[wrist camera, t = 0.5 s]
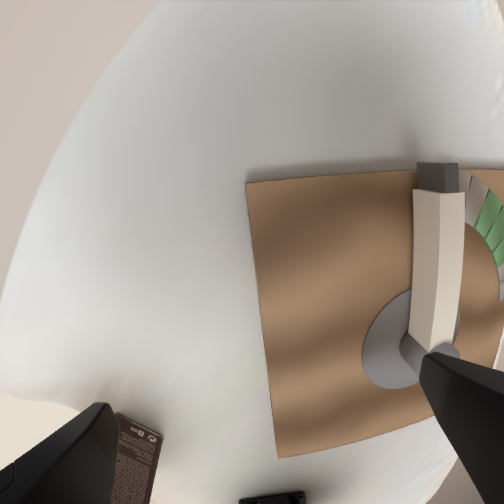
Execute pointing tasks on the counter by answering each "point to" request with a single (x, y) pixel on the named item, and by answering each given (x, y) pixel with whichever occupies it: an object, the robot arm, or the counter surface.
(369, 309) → the dial board
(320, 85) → the counter surface
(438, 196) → the dial lever
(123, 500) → the box
